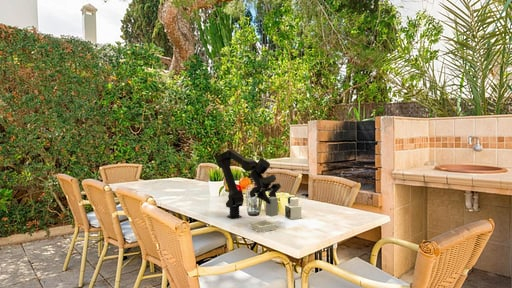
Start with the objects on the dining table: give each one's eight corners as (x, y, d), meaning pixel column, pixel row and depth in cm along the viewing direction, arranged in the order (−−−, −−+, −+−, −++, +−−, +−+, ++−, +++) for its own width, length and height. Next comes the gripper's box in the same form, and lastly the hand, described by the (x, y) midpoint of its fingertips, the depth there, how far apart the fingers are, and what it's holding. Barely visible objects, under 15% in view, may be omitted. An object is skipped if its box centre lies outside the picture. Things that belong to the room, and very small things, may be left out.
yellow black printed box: (284, 216, 205) (284, 196, 205) (295, 215, 208) (295, 195, 207) (290, 219, 199) (290, 198, 198) (301, 218, 201) (301, 197, 201)
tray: (251, 228, 182) (250, 223, 182) (265, 225, 187) (265, 220, 187) (260, 232, 174) (260, 227, 174) (275, 229, 179) (275, 224, 179)
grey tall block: (265, 215, 183) (265, 197, 182) (271, 213, 186) (271, 196, 185) (271, 216, 179) (271, 198, 179) (277, 215, 182) (277, 197, 182)
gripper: (252, 171, 178) (268, 196, 170) (278, 168, 191) (293, 191, 183) (243, 185, 184) (257, 209, 177) (268, 181, 197) (282, 203, 189)
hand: (273, 203), depth 181 cm, fingers closed on grey tall block, 4 cm apart
